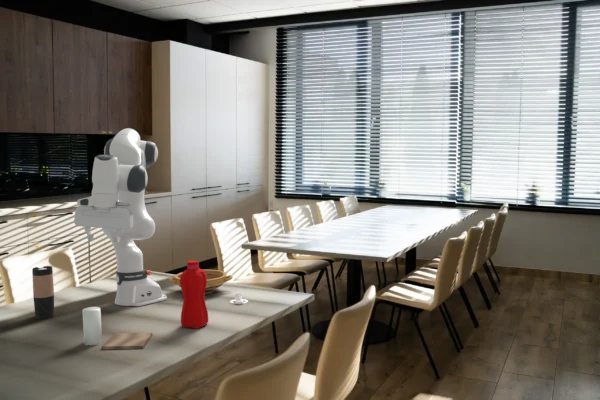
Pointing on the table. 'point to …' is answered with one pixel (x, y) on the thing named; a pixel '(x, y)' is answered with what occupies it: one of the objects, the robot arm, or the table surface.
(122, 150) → the robot arm
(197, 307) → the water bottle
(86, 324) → the white rounded block
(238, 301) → the teacup and saucer
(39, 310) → the travel mug
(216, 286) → the wicker basket
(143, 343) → the walnut coaster
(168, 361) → the table surface
